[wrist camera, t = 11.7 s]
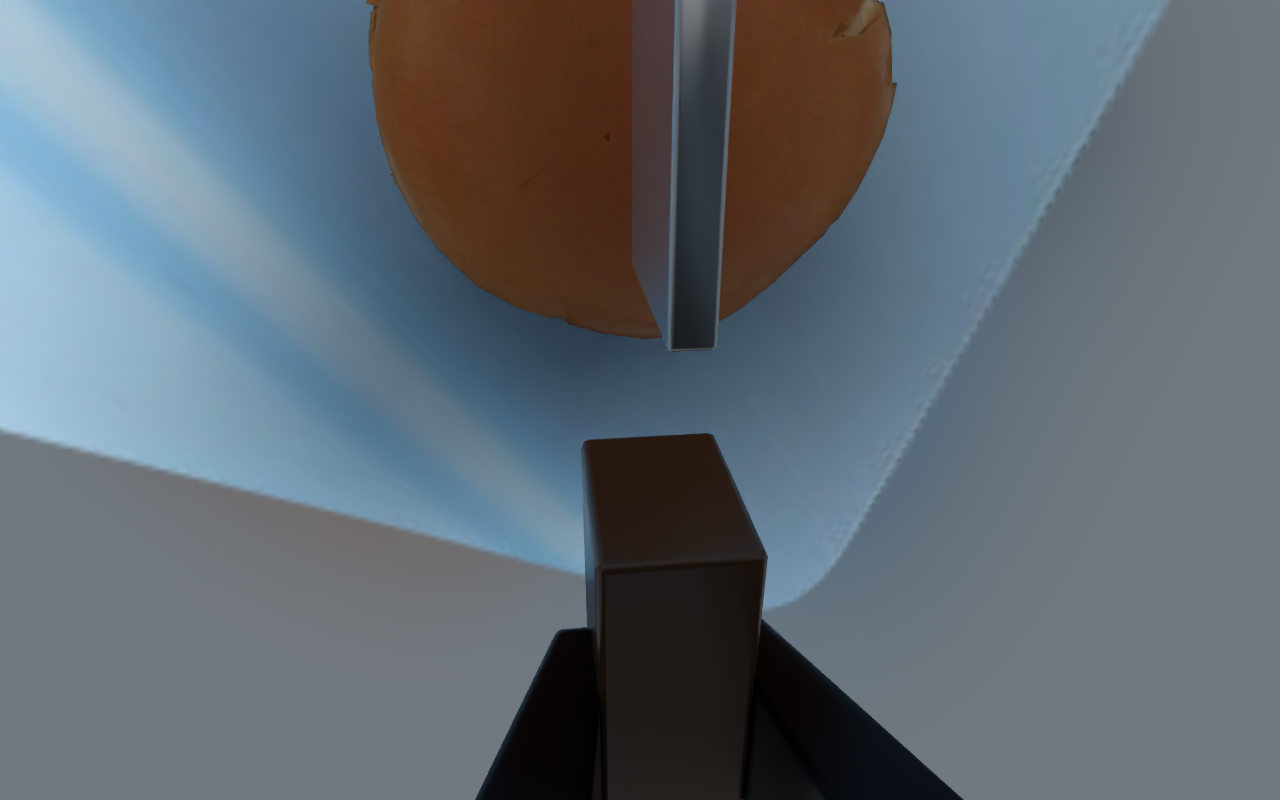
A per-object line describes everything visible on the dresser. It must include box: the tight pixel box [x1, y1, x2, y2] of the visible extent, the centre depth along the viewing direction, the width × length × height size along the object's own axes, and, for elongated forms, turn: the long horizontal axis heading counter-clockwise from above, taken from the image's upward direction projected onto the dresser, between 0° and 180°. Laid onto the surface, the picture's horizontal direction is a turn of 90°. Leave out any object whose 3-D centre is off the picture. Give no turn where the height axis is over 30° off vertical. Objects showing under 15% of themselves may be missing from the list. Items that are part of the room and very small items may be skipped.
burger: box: [366, 0, 897, 339], centre depth 14 cm, size 10×9×5 cm
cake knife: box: [581, 0, 768, 800], centre depth 7 cm, size 14×2×2 cm, turn 0°
